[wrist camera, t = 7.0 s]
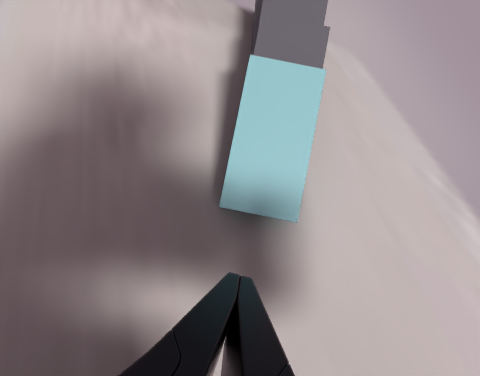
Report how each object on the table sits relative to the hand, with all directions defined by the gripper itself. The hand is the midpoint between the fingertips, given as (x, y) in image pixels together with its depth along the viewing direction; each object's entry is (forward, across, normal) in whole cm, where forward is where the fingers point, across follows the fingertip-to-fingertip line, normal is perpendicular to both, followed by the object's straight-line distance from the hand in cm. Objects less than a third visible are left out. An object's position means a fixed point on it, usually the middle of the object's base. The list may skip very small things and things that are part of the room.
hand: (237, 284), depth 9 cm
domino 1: (+8, 0, +1) cm, 8 cm away
